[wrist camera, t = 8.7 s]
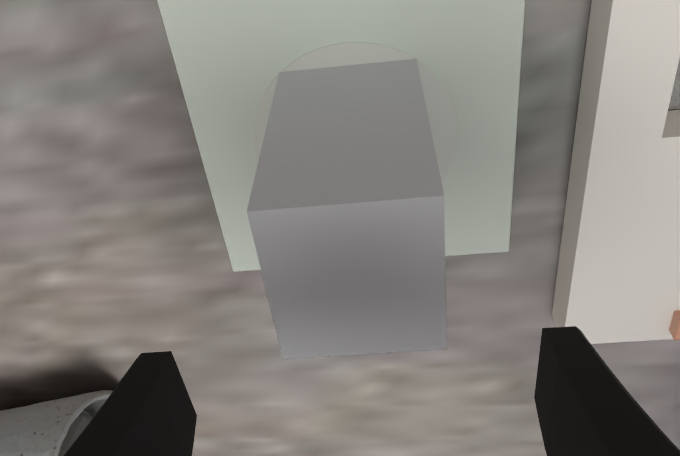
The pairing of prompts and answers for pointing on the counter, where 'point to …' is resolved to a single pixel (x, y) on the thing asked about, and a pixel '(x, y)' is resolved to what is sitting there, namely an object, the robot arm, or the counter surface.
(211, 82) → the pad
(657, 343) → the counter surface
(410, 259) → the block
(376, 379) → the counter surface
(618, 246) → the power strip
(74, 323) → the counter surface
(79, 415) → the ceramic mug
